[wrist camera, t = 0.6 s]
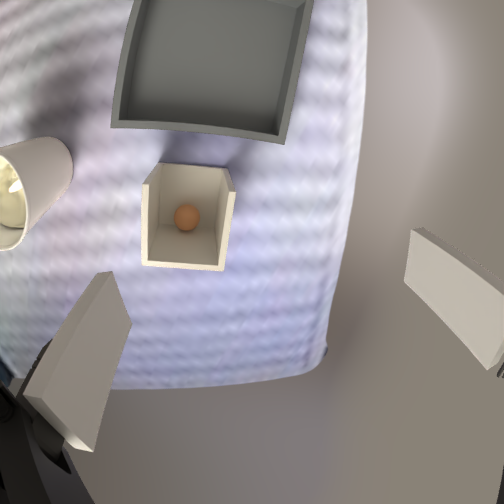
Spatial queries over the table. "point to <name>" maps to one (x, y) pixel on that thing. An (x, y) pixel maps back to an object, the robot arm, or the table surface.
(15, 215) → the candle holder
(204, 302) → the table surface
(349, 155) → the table surface
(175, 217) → the ball
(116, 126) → the tray
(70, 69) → the table surface
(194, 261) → the cream open-top bin
